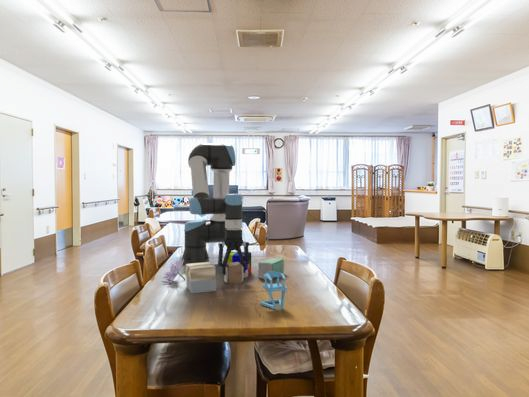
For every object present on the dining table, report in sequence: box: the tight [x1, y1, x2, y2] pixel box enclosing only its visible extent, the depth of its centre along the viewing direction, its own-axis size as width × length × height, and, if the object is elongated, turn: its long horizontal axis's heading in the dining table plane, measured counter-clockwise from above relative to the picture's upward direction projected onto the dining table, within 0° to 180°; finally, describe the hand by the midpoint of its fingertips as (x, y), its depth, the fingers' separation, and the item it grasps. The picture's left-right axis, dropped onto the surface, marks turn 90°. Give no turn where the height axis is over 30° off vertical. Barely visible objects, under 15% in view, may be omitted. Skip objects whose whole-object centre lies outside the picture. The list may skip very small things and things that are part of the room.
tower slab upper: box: [185, 261, 217, 281], centre depth 155 cm, size 10×10×5 cm
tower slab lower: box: [186, 277, 217, 294], centre depth 155 cm, size 10×10×5 cm
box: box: [257, 257, 285, 280], centre depth 177 cm, size 7×14×8 cm, turn 154°
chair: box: [259, 271, 288, 311], centre depth 133 cm, size 8×8×12 cm
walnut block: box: [226, 262, 243, 285], centre depth 166 cm, size 6×6×8 cm
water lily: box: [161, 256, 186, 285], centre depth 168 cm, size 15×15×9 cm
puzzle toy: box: [227, 251, 252, 278], centre depth 180 cm, size 10×10×10 cm
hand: (233, 281), depth 166 cm, fingers open, 6 cm apart
